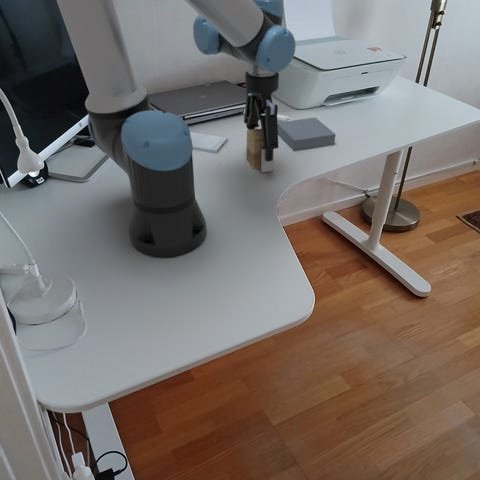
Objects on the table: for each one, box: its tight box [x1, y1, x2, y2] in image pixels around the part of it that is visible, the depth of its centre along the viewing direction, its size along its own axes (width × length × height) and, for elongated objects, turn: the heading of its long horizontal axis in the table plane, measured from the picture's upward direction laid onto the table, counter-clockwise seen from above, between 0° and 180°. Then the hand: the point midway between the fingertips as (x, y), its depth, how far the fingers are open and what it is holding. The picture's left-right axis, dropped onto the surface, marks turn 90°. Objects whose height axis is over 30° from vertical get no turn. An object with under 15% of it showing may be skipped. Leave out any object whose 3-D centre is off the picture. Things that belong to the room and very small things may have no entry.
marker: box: [243, 110, 293, 123], centre depth 136 cm, size 18×2×2 cm, turn 61°
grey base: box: [277, 116, 336, 152], centre depth 124 cm, size 12×12×3 cm
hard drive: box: [190, 131, 229, 155], centre depth 122 cm, size 2×8×12 cm
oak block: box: [246, 128, 264, 169], centre depth 112 cm, size 5×5×8 cm
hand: (259, 161), depth 114 cm, fingers open, 9 cm apart
